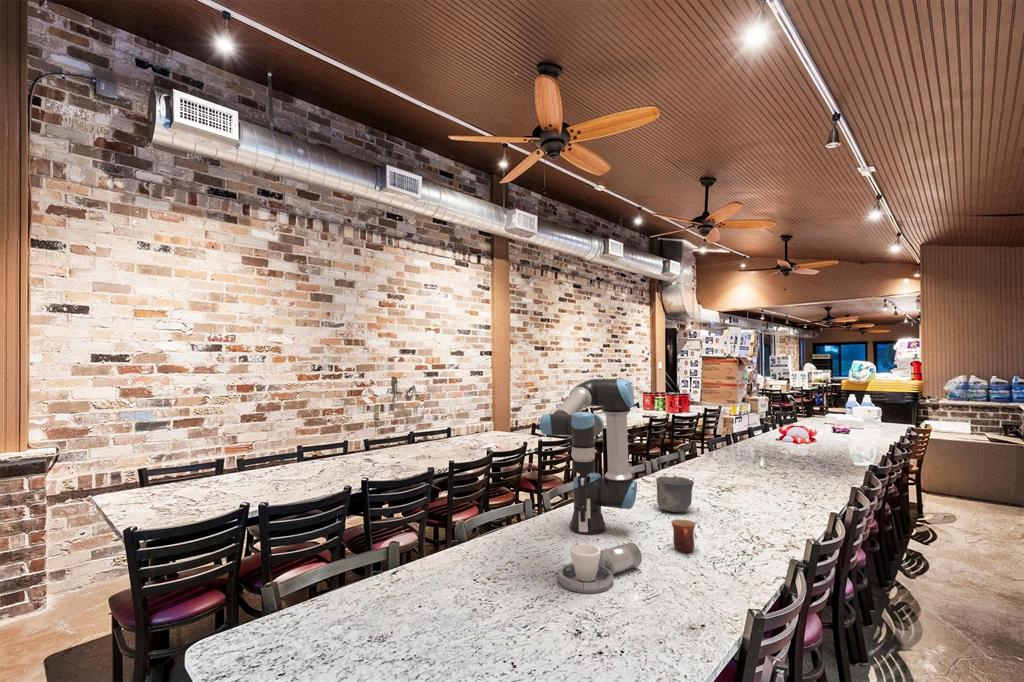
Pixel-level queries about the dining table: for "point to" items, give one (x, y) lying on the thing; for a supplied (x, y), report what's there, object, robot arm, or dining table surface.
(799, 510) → the dining table surface
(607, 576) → the grey saucepan
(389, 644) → the dining table surface
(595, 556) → the cup
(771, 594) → the dining table surface
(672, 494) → the bowl
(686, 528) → the mug
